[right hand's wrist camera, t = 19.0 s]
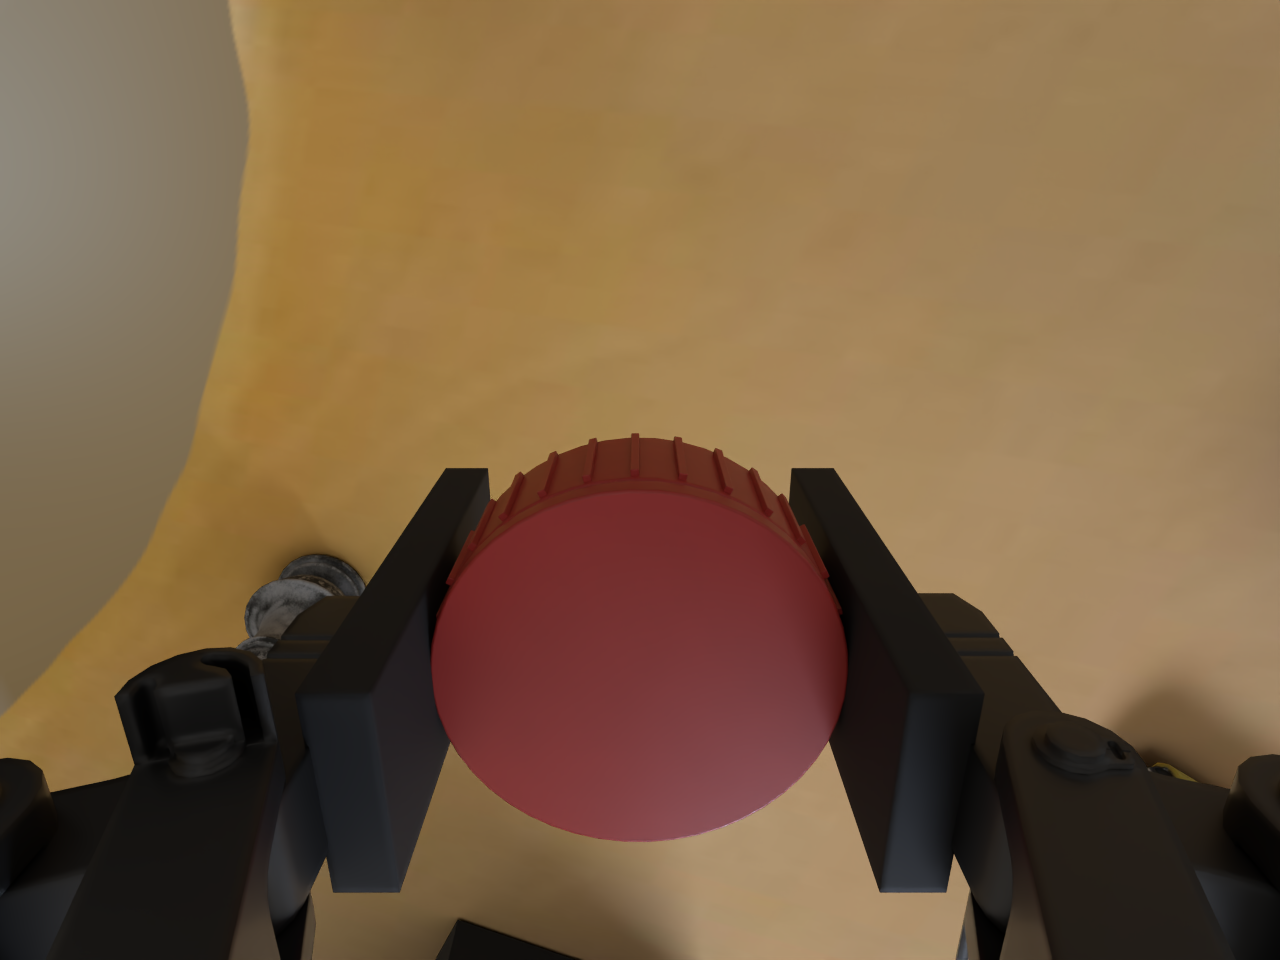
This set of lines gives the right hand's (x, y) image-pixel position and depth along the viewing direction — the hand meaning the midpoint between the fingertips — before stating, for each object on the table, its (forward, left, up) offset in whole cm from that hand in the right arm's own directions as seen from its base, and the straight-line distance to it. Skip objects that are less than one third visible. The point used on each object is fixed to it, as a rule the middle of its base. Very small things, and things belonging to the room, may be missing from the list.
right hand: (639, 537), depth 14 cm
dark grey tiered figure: (+24, +8, -28) cm, 38 cm away
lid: (0, 0, +4) cm, 4 cm away
